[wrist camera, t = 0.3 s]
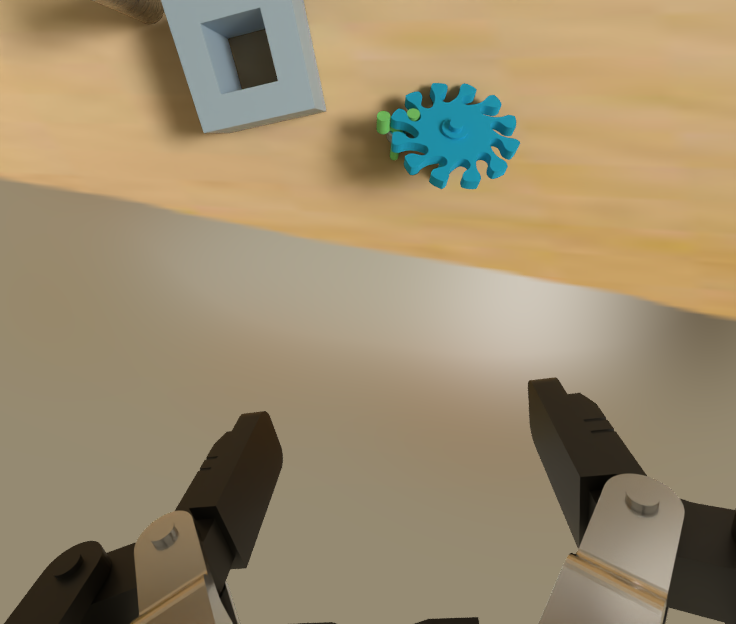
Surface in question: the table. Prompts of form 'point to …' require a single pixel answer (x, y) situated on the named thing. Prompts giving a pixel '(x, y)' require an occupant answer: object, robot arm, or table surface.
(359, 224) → the table surface
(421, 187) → the table surface
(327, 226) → the table surface
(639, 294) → the table surface
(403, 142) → the teal lobed toy
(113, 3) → the pin
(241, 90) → the socket block
